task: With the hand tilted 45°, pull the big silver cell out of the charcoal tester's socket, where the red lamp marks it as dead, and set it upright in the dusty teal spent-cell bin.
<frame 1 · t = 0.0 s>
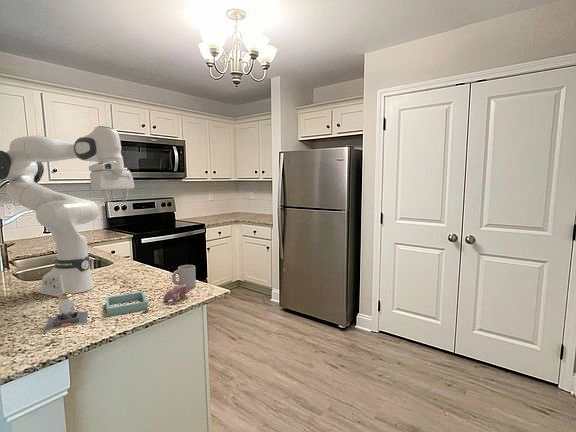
hand: (116, 200, 129), 39 cm above the counter, tool pointing down, fingers open, 8 cm apart
cell: (67, 320, 103), point 1 cm above the counter, touching tester
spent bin: (127, 310, 115), on the counter
tester: (67, 324, 103), on the counter
video game controller: (177, 299, 126), on the counter
cup: (184, 287, 141), on the counter
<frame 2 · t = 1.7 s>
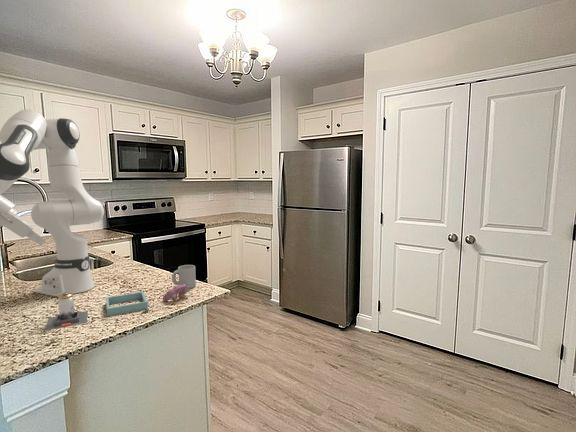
hand: (42, 241, 99), 28 cm above the counter, tool tilted 45°, fingers open, 8 cm apart
nothing on the counter moved.
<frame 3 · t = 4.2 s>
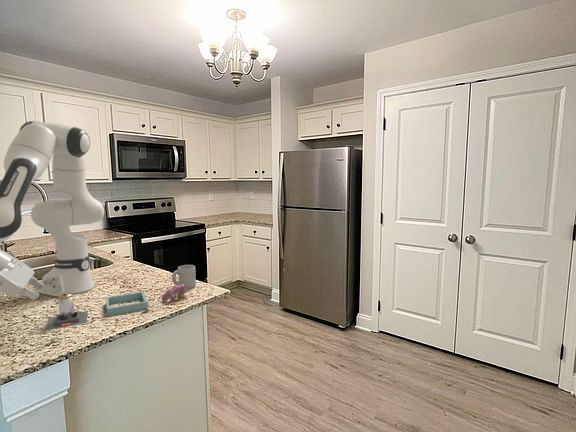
hand: (39, 292, 99), 12 cm above the counter, tool tilted 45°, fingers open, 8 cm apart
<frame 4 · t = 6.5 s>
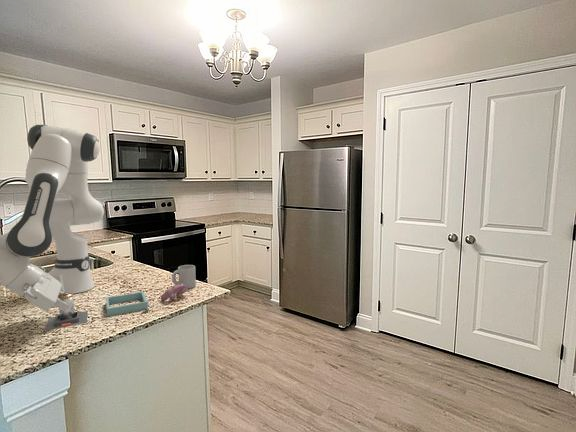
hand: (68, 305, 103), 6 cm above the counter, tool tilted 45°, fingers closed on cell, 4 cm apart
cell: (67, 320, 103), point 1 cm above the counter, touching gripper, tester
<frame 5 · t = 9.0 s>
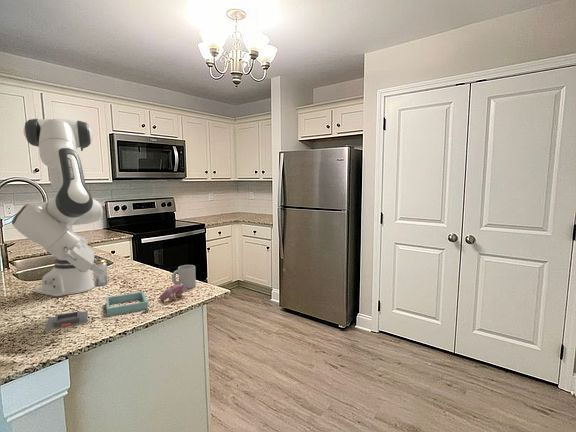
hand: (102, 270, 109), 16 cm above the counter, tool tilted 45°, fingers closed on cell, 4 cm apart
cell: (101, 284, 109), point 11 cm above the counter, touching gripper
when the fingers open (7 cm above the counter, at t = 11.7 s): cell drops 1 cm, resting on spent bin.
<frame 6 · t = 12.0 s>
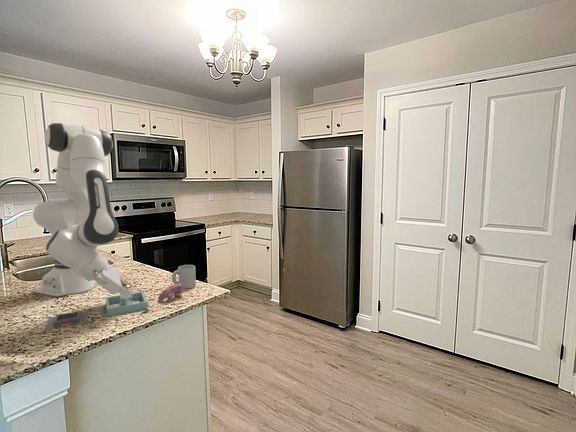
hand: (127, 290, 115), 7 cm above the counter, tool tilted 45°, fingers open, 7 cm apart
cell: (126, 308, 115), point 1 cm above the counter, touching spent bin
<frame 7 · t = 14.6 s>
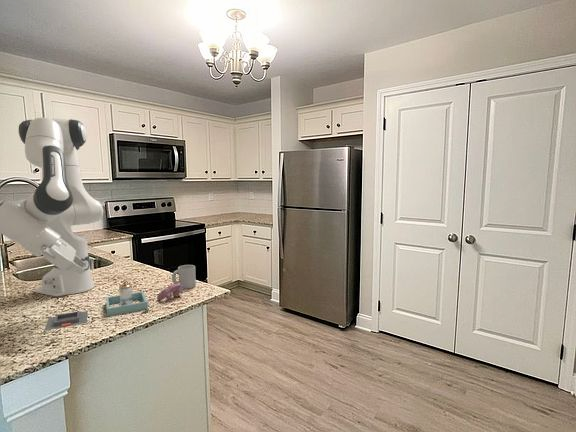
hand: (83, 268, 107), 17 cm above the counter, tool tilted 45°, fingers open, 8 cm apart
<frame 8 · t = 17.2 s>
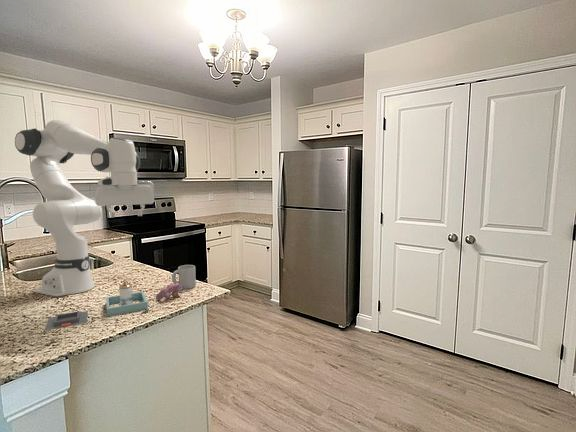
hand: (126, 216, 122), 33 cm above the counter, tool pointing down, fingers open, 8 cm apart
at the end: cell inside the target area on the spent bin (0.1 cm from its centre), point 0.8 cm above the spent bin's base; cell tilted 0°; the gripper is holding nothing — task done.
